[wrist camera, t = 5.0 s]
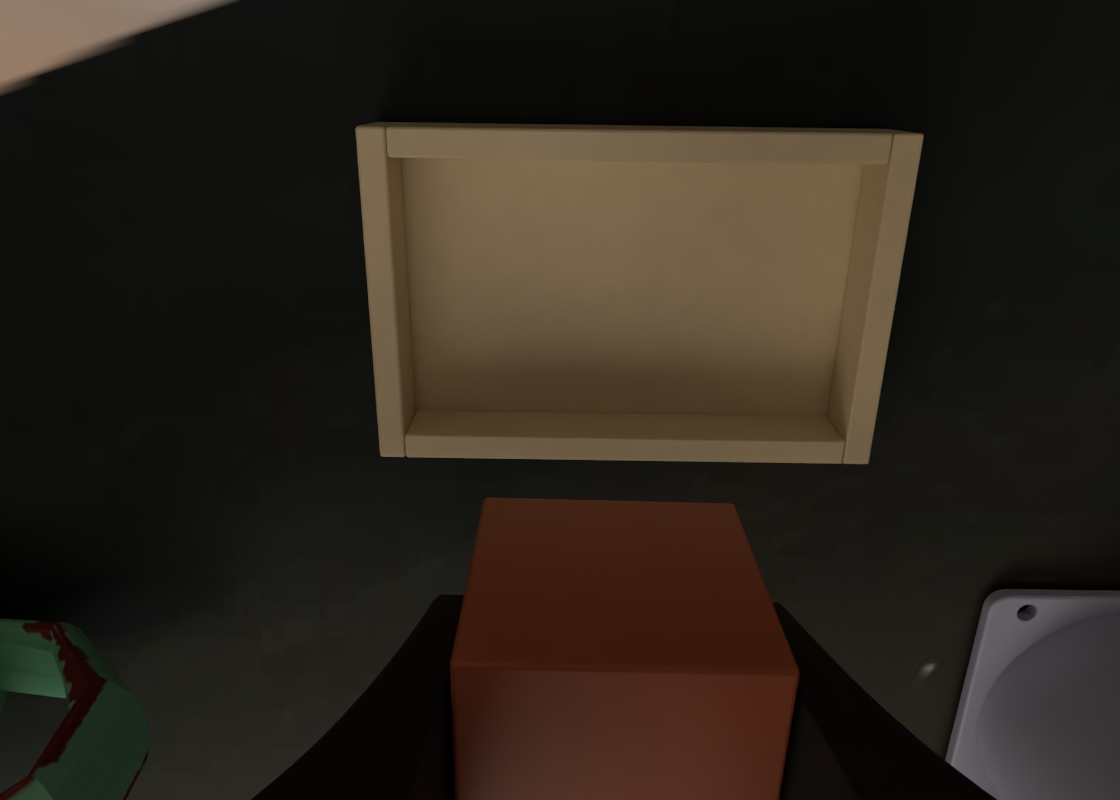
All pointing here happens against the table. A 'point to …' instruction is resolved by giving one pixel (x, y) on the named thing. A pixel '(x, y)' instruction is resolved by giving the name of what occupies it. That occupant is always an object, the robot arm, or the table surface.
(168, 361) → the table surface
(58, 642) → the mug
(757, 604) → the block
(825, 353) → the tray
